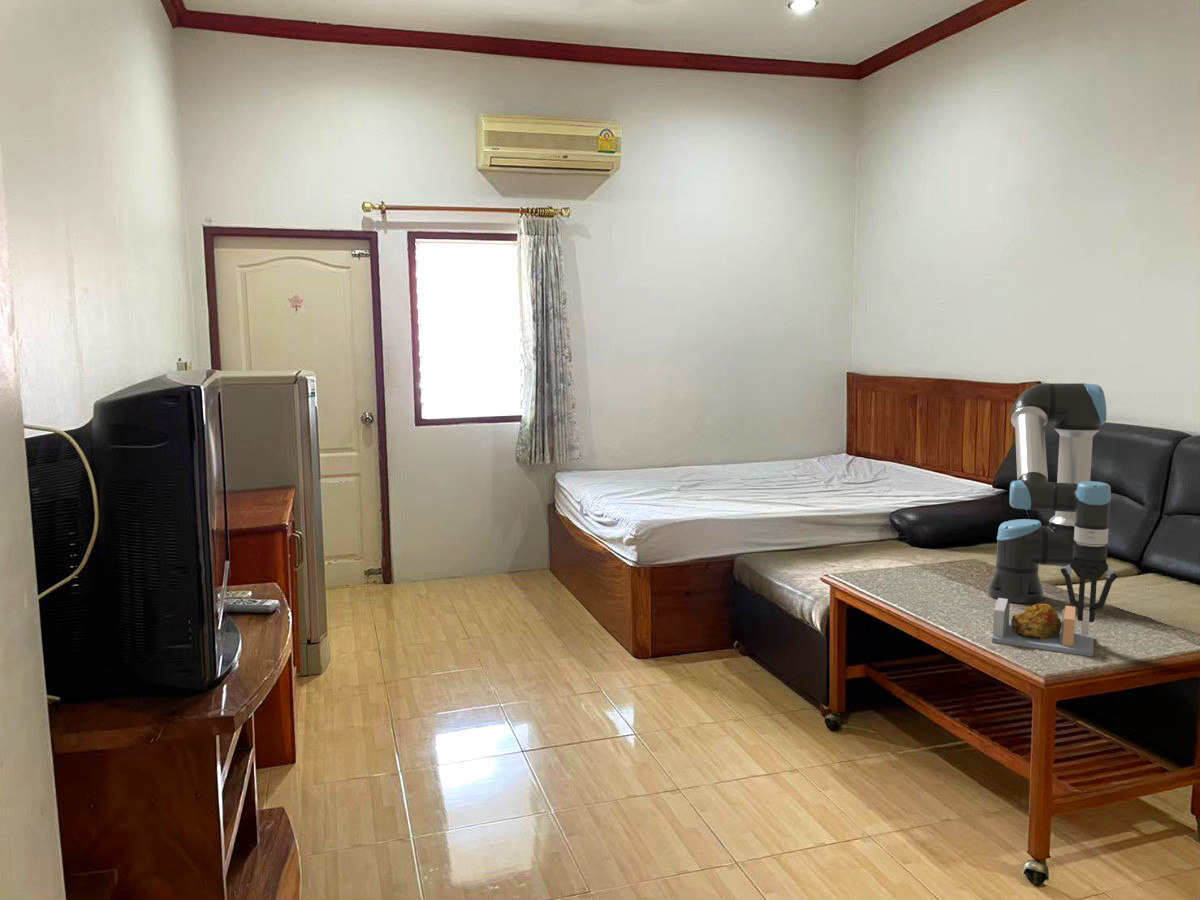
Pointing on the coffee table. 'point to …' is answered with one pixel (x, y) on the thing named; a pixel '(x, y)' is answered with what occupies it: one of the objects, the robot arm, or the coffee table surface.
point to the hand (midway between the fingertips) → (1084, 633)
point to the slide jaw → (1067, 626)
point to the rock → (1037, 621)
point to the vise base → (1009, 636)
